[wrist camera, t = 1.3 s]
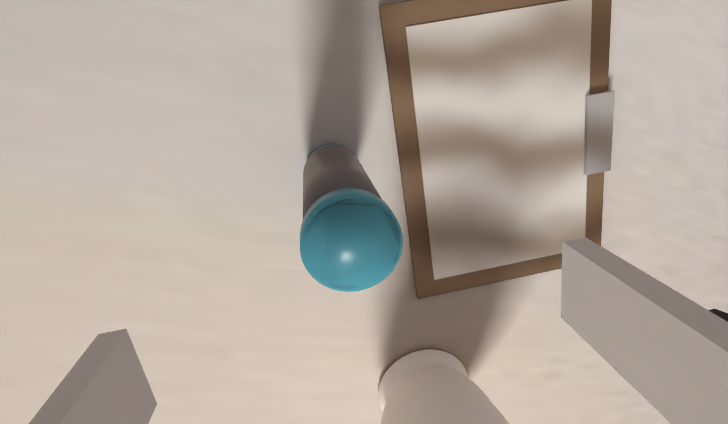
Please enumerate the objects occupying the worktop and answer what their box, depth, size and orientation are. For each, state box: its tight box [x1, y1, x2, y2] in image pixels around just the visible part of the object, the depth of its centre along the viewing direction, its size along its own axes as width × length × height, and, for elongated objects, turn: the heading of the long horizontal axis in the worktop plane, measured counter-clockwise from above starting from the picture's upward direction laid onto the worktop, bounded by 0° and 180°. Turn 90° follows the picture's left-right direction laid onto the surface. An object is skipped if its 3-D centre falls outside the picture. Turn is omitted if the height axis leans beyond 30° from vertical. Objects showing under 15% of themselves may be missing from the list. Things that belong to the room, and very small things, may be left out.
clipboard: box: [379, 0, 614, 299], centre depth 31 cm, size 22×16×1 cm
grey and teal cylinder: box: [300, 144, 403, 292], centre depth 23 cm, size 4×4×14 cm
